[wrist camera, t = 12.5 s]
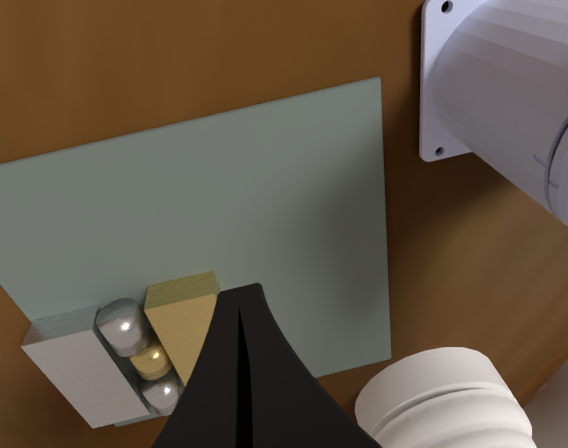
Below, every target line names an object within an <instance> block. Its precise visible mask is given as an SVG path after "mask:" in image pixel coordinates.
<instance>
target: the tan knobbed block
mask: <svg viewBox="0 0 568 448" xmlns="http://www.w3.org/2000/svg"><path fill="white" fill-rule="evenodd" d="M220 291H221V288H220V285H219V282H218V280H217V277H216V274H215V272H214V270H212V271H208V272H204V273H200V274H195V275H191V276H187V277H183V278H178V279H174V280H170V281H166V282H161V283H157V284H153V285H149V286H148V289H147V295H146V300H145V306H144V312H145V313H146V315H147V317H148V319H149V321H150V323H151V324H152V326H153V328H151V329H152V338H151V340H150V342H149V344H148V345H147V346H146V347H145V348H144V349H143V350H142V351H140V352H139V353H137V354H135V355H132V356H128V357H129V359H130V361H131V362H132V364H133V365H134V367H135V368H136V370H137V372H138V373H139V375H140V376H141V377H142V378H143V379H146V380H155V379H158V378H160V377H162V376H164V375H165V374H166V373H168V372H169V371H170V369H171V368H172V366H173V365H174V367H175V369H176V370H177V372H178V374H179V376H180V378H181V380H182V381H183V383H184V385H185V387H186V384H187V382H188V380H189V378H190V376H191V373H192V371H193V368H194V366H195V364H196V361H197V359H198V356H199V354H200V351H201V349H202V346H203V343H204V340H205V337H206V334H207V332H208V329H209V325H210V322H211V319H212V315H213V312H214V308H215V304H216V300H217V295H218V294H219V292H220Z"/></svg>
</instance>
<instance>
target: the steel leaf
mask: <svg viewBox="0 0 568 448" xmlns="http://www.w3.org/2000/svg"><path fill="white" fill-rule="evenodd" d="M151 338H152V329H151V328H150V326H149V324H148V322H147V321H146V319H145V317H144V315H143V313H142V312H141V310H140V308H139V306H138V305H137V303H136V301H135V300H133V299H131V298H122V299H118V300H115V301H113V302H111V303H109V304H108V305H106V306H105V307H104V308H103V309H102V308H101V306H100V305H99V304H96V305H92V306H88V307H84V308H80V309H76V310H71V311H67V312H63V313H59V314H55V315H51V316H47V317H42V318H38V319H34V320H33V321H32V323H31V325H30V327H29V330H28V332H27V334H26V336H25V338H24V340H23V343H22V345H21V348H22V349H23V350H24V351H25V352H26V353H27V355H28V356H29V357H30V358H31V359H32V360H33V361H34V362H35V364H36V365H37V366H38V367H39V368H40V369H41V370H42V372H43V373H44V374H45V375H46V376H47V377H48V378H49V379H50V381H51V382H52V383H53V384H54V385H55V386H56V387H57V389H58V390H59V391H60V392H61V393H62V394H63V395H64V397H65V398H66V399H67V400H68V401H69V402H70V403H71V404H72V406H73V407H74V408H75V409H76V410H77V411H78V412H79V414H80V415H81V416H82V417H83V418H84V419H85V420H86V421H87V423H88V424H89V425H90V426H91V427H92V428H97V427H101V426H105V425H109V424H113V423H117V422H121V421H125V420H129V419H133V418H137V417H141V416H145V415H149V414H150V411H151V407H152V408H153V410H154V411H155V412H156V413H157V414H158V415H161V416H167V415H171V414H172V412H173V410H174V408H175V406H176V404H177V403H178V401H179V399H180V397H181V395H182V393H183V391H184V389H185V388H184V386H183V385H182V383H181V381H180V379H179V377H178V376H177V374H176V372H175V370H174V369H173V367H172V368H171V369H170V371H169V372H168V373H166V374H165V375H164V376H162V377H160V378H158V379H155V380H146V379H143V378H142V377H141V376H140V375H139V373H138V372H137V370H136V368H135V367H134V365H133V364H132V362H131V361H130V359H129V357H128V356H132V355H135V354H137V353H139V352H140V351H142V350H143V349H144V348H145V347H146V346H147V345H148V344H149V342H150V340H151Z"/></svg>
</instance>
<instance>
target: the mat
mask: <svg viewBox="0 0 568 448" xmlns="http://www.w3.org/2000/svg"><path fill="white" fill-rule="evenodd" d="M212 270H214V272H215V274H216V277H217V280H218V282H219V285H220V288H221V291H224V290H229V289H233V288H237V287H241V286H245V285H249V284H253V283H257V282H258V283H260V284H262V287H263V291H264V294H265V297H266V301H267V304H268V306H269V309H270V311H271V313H272V315H273V317H274V319H275V321H276V322H277V324H278V326H279V328H280V329H281V331H282V333H283V335H284V336H285V338H286V339H287V341H288V342H289V344H290V345H291V347H292V348H293V350H294V351H295V353H296V354H297V356H298V357H299V358H300V360H301V361H302V363H303V364H304V365H305V366H306V368H307V369H308V370H309V372H310V373H311V374H312V375H313V377H314V378H316V377H320V376H324V375H328V374H332V373H336V372H340V371H344V370H348V369H352V368H356V367H360V366H364V365H368V364H372V363H376V362H380V361H384V360H388V359H391V338H390V312H389V286H388V261H387V235H386V209H385V184H384V158H383V132H382V107H381V81H380V78H379V77H375V78H370V79H366V80H362V81H357V82H353V83H349V84H344V85H340V86H336V87H331V88H327V89H323V90H318V91H314V92H310V93H305V94H301V95H297V96H292V97H288V98H284V99H279V100H275V101H271V102H266V103H262V104H258V105H253V106H249V107H245V108H240V109H236V110H232V111H228V112H223V113H219V114H215V115H210V116H206V117H202V118H197V119H193V120H189V121H184V122H180V123H176V124H171V125H167V126H163V127H158V128H154V129H150V130H145V131H141V132H137V133H132V134H128V135H124V136H119V137H115V138H111V139H106V140H102V141H98V142H93V143H89V144H85V145H80V146H76V147H72V148H67V149H63V150H59V151H54V152H50V153H46V154H41V155H37V156H33V157H28V158H24V159H20V160H15V161H11V162H7V163H3V164H0V285H1V286H2V287H3V288H4V290H5V291H6V292H7V293H8V295H9V296H10V297H11V298H12V299H13V301H14V302H15V303H16V304H17V306H18V307H19V308H20V309H21V310H22V312H23V313H24V314H25V315H26V317H27V318H28V319H29V320H30V322H31V323H32V321H33V320H34V319H38V318H42V317H47V316H51V315H55V314H59V313H63V312H67V311H71V310H76V309H80V308H84V307H88V306H92V305H96V304H99V305H100V306H101V308H102V309H103V308H104V307H105V306H106V305H108V304H109V303H111V302H113V301H115V300H118V299H122V298H131V299H133V300H135V301H136V303H137V305H138V306H139V308H140V310H141V312H142V313H143V315H144V317H145V319H146V321H147V322H148V324H149V326H150V328H153V326H152V324H151V323H150V321H149V319H148V317H147V315H146V313H145V312H144V306H145V300H146V295H147V289H148V286H149V285H153V284H157V283H161V282H166V281H170V280H174V279H178V278H183V277H187V276H191V275H195V274H200V273H204V272H208V271H212ZM172 367H173V369H174V370H175V372H176V374H177V376H178V377H179V379H180V381H181V383H182V385H183V386H184V388H185V385H184V383H183V381H182V380H181V378H180V376H179V374H178V372H177V370H176V369H175V367H174V365H173V366H172ZM159 416H161V415H158V414H157V413H156V412H155V411H154V410H153V408H152V407H151V411H150V414H149V415H145V416H141V417H137V418H133V419H129V420H125V421H121V422H117V423H113V424H114V425H115V426H116V427H119V426H123V425H127V424H131V423H135V422H139V421H143V420H147V419H151V418H155V417H159Z"/></svg>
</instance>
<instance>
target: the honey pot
mask: <svg viewBox="0 0 568 448" xmlns="http://www.w3.org/2000/svg"><path fill="white" fill-rule="evenodd" d="M355 415H356V419H357V422H358V425H359V426H360V427H361V428H362V429H363V430H364V431H366V432H367V433H368V434H369V435H370V436H371V437H372V438H373V439H374V440H376V441H377V442H378V443H379V444H380V445H381V446H382V448H537V447H536V445H535V443H534V442H533V440H532V438H531V437H532V426H531V424H530V422H529V420H528V418H527V416H526V414H525V412H524V411H523V409H522V408H521V407H520V406H519V404H518V402H517V400H516V399H515V398H514V396H513V395H512V393H511V391H510V390H509V388H508V387H507V385H506V384H505V382H504V381H503V379H502V378H501V376H500V375H499V373H498V372H497V371H496V369H495V368H494V366H493V365H492V363H491V362H490V360H489V359H488V358H487V357H486V356H484V355H483V354H481V353H480V352H478V351H475V350H471V349H467V348H462V347H444V348H438V349H432V350H426V351H423V352H420V353H417V354H414V355H411V356H408V357H405V358H403V359H401V360H399V361H398V362H396V363H394V364H392V365H390V366H388V367H386V368H385V369H384V370H382V371H381V372H380V373H378V374H377V375H376V376H374V377H373V378H372V379H371V380H370V381H369V382H368V383H367V384H366V385H365V387H364V388H363V389H362V390H361V392H360V394H359V396H358V398H357V400H356V402H355Z"/></svg>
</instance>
